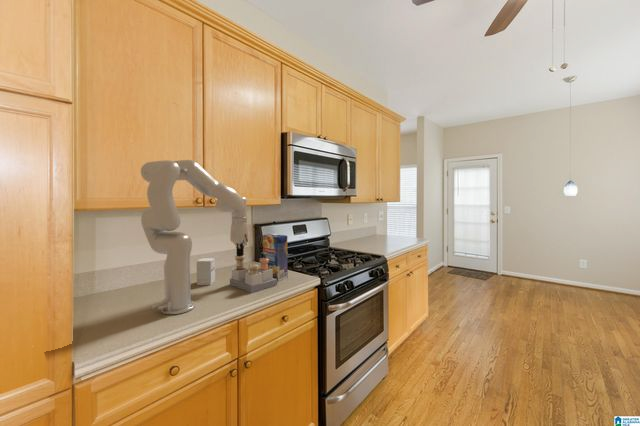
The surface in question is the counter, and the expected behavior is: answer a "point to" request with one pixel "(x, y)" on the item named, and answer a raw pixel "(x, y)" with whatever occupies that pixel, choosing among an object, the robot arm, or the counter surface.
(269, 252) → the juice carton
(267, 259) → the terracotta plug
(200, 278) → the supplement box
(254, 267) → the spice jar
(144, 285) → the counter surface
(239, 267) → the beech plug far
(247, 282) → the board
